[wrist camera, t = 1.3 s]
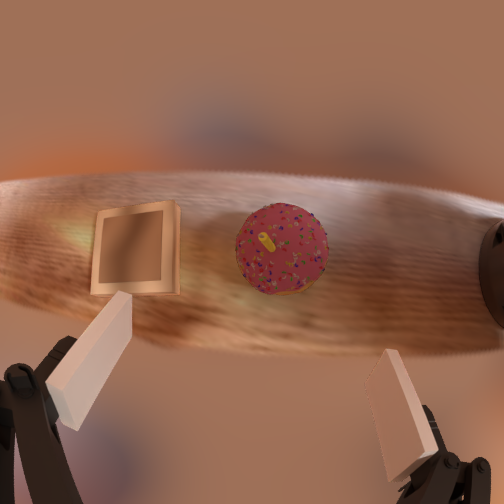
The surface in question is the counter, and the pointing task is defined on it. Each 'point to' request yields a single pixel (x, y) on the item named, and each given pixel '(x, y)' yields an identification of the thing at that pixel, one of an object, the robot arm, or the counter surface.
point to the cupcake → (281, 249)
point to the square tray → (137, 250)
